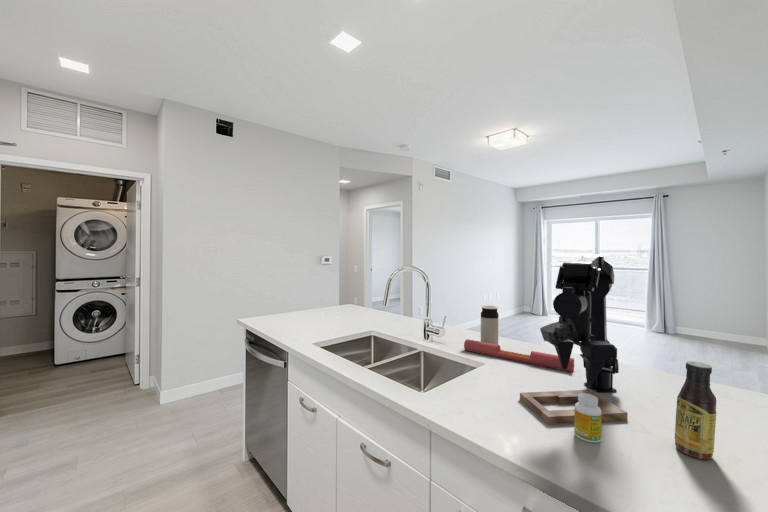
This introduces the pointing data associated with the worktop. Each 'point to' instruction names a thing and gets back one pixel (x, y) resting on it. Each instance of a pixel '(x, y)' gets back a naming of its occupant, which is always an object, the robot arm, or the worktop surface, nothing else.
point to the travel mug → (489, 324)
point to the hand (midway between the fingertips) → (576, 375)
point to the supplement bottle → (587, 418)
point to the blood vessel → (518, 355)
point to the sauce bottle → (696, 413)
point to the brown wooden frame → (566, 397)
